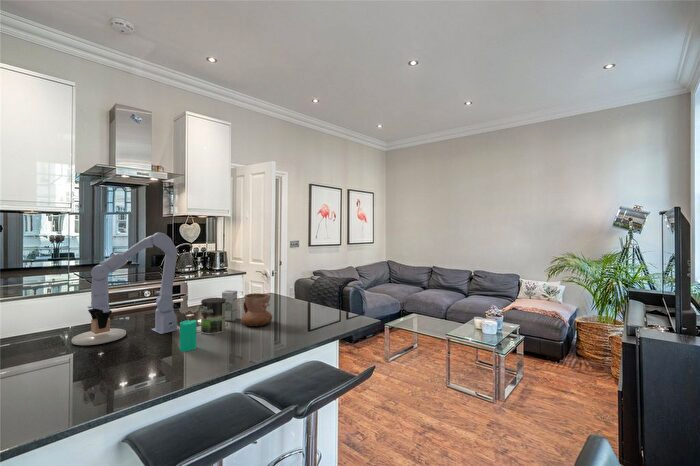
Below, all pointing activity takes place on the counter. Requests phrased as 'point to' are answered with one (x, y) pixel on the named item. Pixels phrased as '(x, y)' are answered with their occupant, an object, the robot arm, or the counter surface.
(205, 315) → the glass jar
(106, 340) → the dish
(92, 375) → the counter surface
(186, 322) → the candle
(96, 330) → the block
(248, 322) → the ceramic jug
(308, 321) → the counter surface
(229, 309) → the syrup box
